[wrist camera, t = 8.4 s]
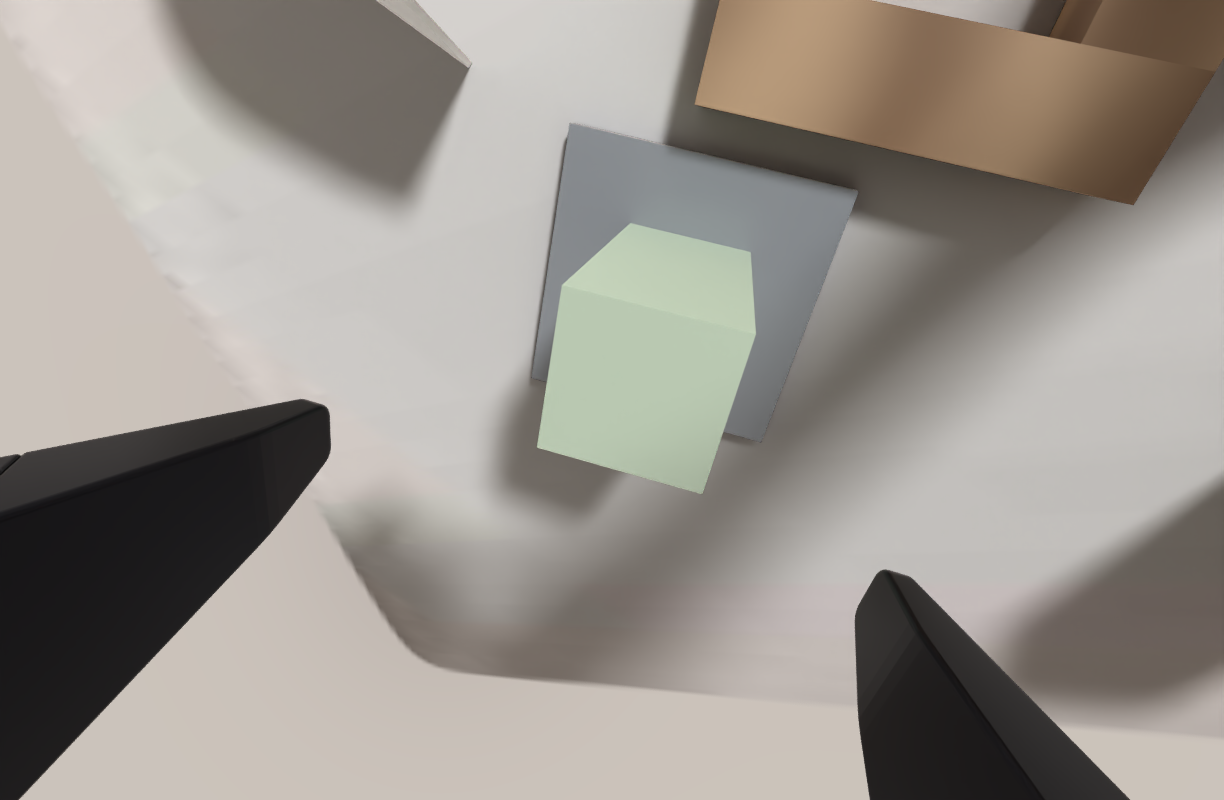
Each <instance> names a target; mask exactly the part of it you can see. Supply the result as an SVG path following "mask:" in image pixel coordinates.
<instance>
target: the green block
mask: <svg viewBox="0 0 1224 800" xmlns="http://www.w3.org/2000/svg"><path fill="white" fill-rule="evenodd" d="M755 336H756V327H755V311H754V296H753V280H752V265H751V252H748V251H744V250H740V249H736V248H732V247H728V246H723V245H719V244H715V243H711V242H707V241H703V240H699V239H694V238H690V237H686V236H682V235H678V234H674V233H669V232H665V231H661V230H657V229H653V228H649V227H644V226H640V225H636V224H632V223H630V224H629V225H628V226H627V227H626V228H624V229H623V230H622V231H621V232H620V233H619V234H618V235H617V236H616V237H614V238H613V239H612V240H611V241H610V242H609V243H608V244H607V245H606V246H605V247H603V248H602V249H601V250H600V251H599V252H598V253H597V254H596V255H595V256H593V257H592V258H591V259H590V260H589V261H588V262H587V263H586V264H585V265H584V266H582V267H581V268H580V269H579V270H578V271H577V272H576V273H575V274H574V275H573V276H571V277H570V278H569V279H568V280H567V281H566V282H565V283H564V284H563V285H562V288H561V294H560V301H559V307H558V314H557V320H556V327H555V333H554V340H553V346H552V353H551V359H550V366H549V372H548V379H547V385H546V392H545V398H544V405H543V411H542V417H541V424H540V430H539V437H538V443H537V448H540V449H544V450H547V451H551V452H554V453H558V454H561V455H565V456H568V457H572V458H576V459H579V460H583V461H586V462H590V463H593V464H597V465H600V466H604V467H607V468H611V469H614V470H618V471H621V472H625V473H628V474H632V475H636V476H639V477H643V478H646V479H650V480H653V481H657V482H660V483H664V484H667V485H671V486H674V487H678V488H681V489H685V490H689V491H692V492H696V493H699V494H703V491H704V488H705V485H706V482H707V479H708V476H709V473H710V470H711V467H712V464H713V461H714V458H715V455H716V452H717V449H718V446H719V443H720V440H721V437H722V434H723V431H724V428H725V425H726V422H727V419H728V416H729V413H730V410H731V407H732V404H733V401H734V398H735V395H736V392H737V389H738V386H739V383H740V380H741V377H742V375H743V372H744V369H745V366H746V363H747V360H748V357H749V354H750V351H751V348H752V345H753V342H754V339H755Z"/></svg>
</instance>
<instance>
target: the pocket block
mask: <svg viewBox="0 0 1224 800" xmlns="http://www.w3.org/2000/svg"><path fill="white" fill-rule="evenodd" d="M1223 59H1224V0H1067V1H1066V3H1065V5H1064V7H1063V9H1062V11H1061V13H1060V15H1059V17H1058V19H1057V21H1056V23H1055V25H1054V28H1053V30H1052V32H1051V34H1050V36H1049V37H1046V36H1041V35H1036V34H1031V33H1026V32H1021V31H1017V30H1012V29H1007V28H1002V27H997V26H992V25H988V24H983V23H978V22H973V21H968V20H964V19H959V18H954V17H949V16H944V15H939V14H935V13H930V12H925V11H920V10H915V9H910V8H906V7H901V6H896V5H891V4H886V3H881V2H877V1H872V0H720V1H719V5H718V9H717V13H716V17H715V21H714V25H713V30H712V34H711V38H710V42H709V46H708V50H707V54H706V59H705V63H704V67H703V71H702V75H701V79H700V84H699V88H698V92H697V96H696V100H695V105H698V106H701V107H706V108H710V109H714V110H719V111H723V112H727V113H732V114H736V115H740V116H745V117H749V118H754V119H758V120H762V121H767V122H771V123H775V124H780V125H784V126H788V127H793V128H797V129H801V130H806V131H810V132H814V133H819V134H823V135H828V136H832V137H836V138H841V139H845V140H849V141H854V142H858V143H862V144H867V145H871V146H875V147H880V148H884V149H888V150H893V151H897V152H902V153H906V154H910V155H915V156H919V157H923V158H928V159H932V160H936V161H941V162H945V163H949V164H954V165H958V166H962V167H967V168H971V169H976V170H980V171H984V172H989V173H993V174H997V175H1002V176H1006V177H1010V178H1015V179H1019V180H1023V181H1028V182H1032V183H1036V184H1041V185H1045V186H1050V187H1054V188H1058V189H1063V190H1067V191H1071V192H1076V193H1080V194H1084V195H1089V196H1093V197H1098V198H1103V199H1107V200H1112V201H1117V202H1121V203H1126V204H1131V205H1134V203H1135V202H1136V200H1137V198H1138V197H1139V195H1140V194H1141V192H1142V190H1143V189H1144V187H1145V185H1146V184H1147V182H1148V181H1149V179H1150V177H1151V176H1152V174H1153V172H1154V171H1155V169H1156V168H1157V166H1158V164H1159V163H1160V161H1161V159H1162V158H1163V156H1164V155H1165V153H1166V151H1167V150H1168V148H1169V146H1170V145H1171V143H1172V142H1173V140H1174V138H1175V137H1176V135H1177V133H1178V132H1179V130H1180V129H1181V127H1182V125H1183V124H1184V122H1185V120H1186V119H1187V117H1188V116H1189V114H1190V112H1191V111H1192V109H1193V107H1194V106H1195V104H1196V103H1197V101H1198V99H1199V98H1200V96H1201V94H1202V93H1203V91H1204V90H1205V88H1206V86H1207V85H1208V83H1209V81H1210V80H1211V78H1212V77H1213V75H1214V73H1215V72H1216V70H1217V68H1218V67H1219V65H1220V64H1221V62H1222V60H1223Z"/></svg>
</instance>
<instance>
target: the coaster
mask: <svg viewBox="0 0 1224 800" xmlns="http://www.w3.org/2000/svg"><path fill="white" fill-rule="evenodd" d="M858 193H859V191H857V190H855V189H851V188H847V187H842V186H838V185H834V184H830V183H826V182H821V181H817V180H813V179H809V178H804V177H800V176H796V175H792V174H788V173H783V172H779V171H775V170H771V169H767V168H762V167H758V166H754V165H750V164H745V163H741V162H737V161H733V160H729V159H724V158H720V157H716V156H712V155H708V154H703V153H699V152H695V151H691V150H686V149H682V148H678V147H674V146H670V145H665V144H661V143H657V142H653V141H648V140H644V139H640V138H636V137H632V136H627V135H623V134H619V133H615V132H611V131H606V130H602V129H598V128H594V127H589V126H585V125H581V124H577V123H570V124H569V131H568V138H567V144H566V151H565V158H564V164H563V171H562V177H561V184H560V191H559V197H558V204H557V211H556V217H555V224H554V231H553V237H552V244H551V251H550V257H549V264H548V271H547V277H546V284H545V291H544V297H543V304H542V311H541V317H540V324H539V331H538V337H537V344H536V351H535V357H534V364H533V371H532V377H531V378H533V379H537V380H540V381H544V382H547V379H548V372H549V366H550V359H551V353H552V346H553V340H554V333H555V327H556V320H557V314H558V307H559V301H560V294H561V288H562V285H563V284H564V283H565V282H566V281H567V280H568V279H569V278H570V277H571V276H573V275H574V274H575V273H576V272H577V271H578V270H579V269H580V268H581V267H582V266H584V265H585V264H586V263H587V262H588V261H589V260H590V259H591V258H592V257H593V256H595V255H596V254H597V253H598V252H599V251H600V250H601V249H602V248H603V247H605V246H606V245H607V244H608V243H609V242H610V241H611V240H612V239H613V238H614V237H616V236H617V235H618V234H619V233H620V232H621V231H622V230H623V229H624V228H626V227H627V226H628V225H629V224H630V223H632V224H636V225H640V226H644V227H649V228H653V229H657V230H661V231H665V232H669V233H674V234H678V235H682V236H686V237H690V238H694V239H699V240H703V241H707V242H711V243H715V244H719V245H723V246H728V247H732V248H736V249H740V250H744V251H748V252H751V265H752V280H753V296H754V311H755V327H756V336H755V339H754V342H753V345H752V348H751V351H750V354H749V357H748V360H747V363H746V366H745V369H744V372H743V375H742V377H741V380H740V383H739V386H738V389H737V392H736V395H735V398H734V401H733V404H732V407H731V410H730V413H729V416H728V419H727V422H726V425H725V428H724V431H723V432H726V433H729V434H733V435H736V436H740V437H743V438H747V439H751V440H754V441H758V442H762V439H763V437H764V434H765V431H766V429H767V426H768V424H769V421H770V419H771V416H772V413H773V411H774V408H775V406H776V403H777V401H778V398H779V395H780V393H781V390H782V388H783V385H784V383H785V380H786V378H787V375H788V372H789V370H790V367H791V365H792V362H793V360H794V357H795V354H796V352H797V349H798V347H799V344H800V342H801V339H802V336H803V334H804V331H805V329H806V326H807V324H808V321H809V318H810V316H811V313H812V311H813V308H814V306H815V303H816V301H817V298H818V295H819V293H820V290H821V288H822V285H823V283H824V280H825V277H826V275H827V272H828V270H829V267H830V265H831V262H832V259H833V257H834V254H835V252H836V249H837V247H838V244H839V241H840V239H841V236H842V234H843V231H844V229H845V226H846V223H847V221H848V218H849V216H850V213H851V211H852V208H853V206H854V203H855V200H856V198H857V195H858Z"/></svg>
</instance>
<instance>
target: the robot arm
mask: <svg viewBox="0 0 1224 800" xmlns="http://www.w3.org/2000/svg"><path fill="white" fill-rule="evenodd" d="M330 450H331V437H330V414H329V411H328V408H327V407H326V406H324V405H322V404H319V403H316V402H312V401H309V400H305V399H298V400H293V401H288V402H283V403H277V404H272V405H267V406H262V407H257V408H252V409H247V410H242V411H237V412H232V413H226V414H222V415H216V416H211V417H206V418H201V419H195V420H190V421H185V422H180V423H175V424H170V425H165V426H159V427H154V428H150V429H144V430H139V431H134V432H129V433H124V434H118V435H114V436H109V437H103V438H98V439H93V440H88V441H83V442H78V443H73V444H67V445H62V446H57V447H52V448H47V449H41V450H37V451H31V452H26V453H24V454H23V455H22V456H20V455H18V454H15V455H10V456H5V457H0V800H19V799H20V798H21V797H22V796H23V795H24V794H25V793H26V792H27V791H28V789H29V788H30V787H31V786H32V785H33V784H34V783H35V782H36V781H37V780H38V779H39V778H40V777H41V776H42V775H43V774H44V773H45V772H46V770H47V769H48V768H49V767H50V766H51V765H52V764H53V763H54V762H55V761H56V760H57V759H58V758H59V757H60V756H61V755H62V754H63V753H64V752H65V750H66V749H67V748H68V747H69V746H70V745H71V744H72V743H73V742H74V741H75V739H77V738H78V737H79V736H80V735H81V733H82V732H83V731H84V730H85V729H86V728H87V727H88V726H89V725H90V724H91V723H92V722H93V721H94V720H95V719H96V718H97V717H98V715H100V713H101V712H102V711H103V710H104V709H105V708H106V707H107V706H108V705H109V704H110V703H111V702H112V701H113V700H114V699H115V698H116V697H117V695H118V694H119V693H120V692H121V691H122V690H123V689H124V688H125V687H126V686H127V685H128V684H129V683H130V682H131V681H132V680H133V679H134V677H135V676H136V675H137V674H138V673H139V672H140V671H141V670H142V669H143V668H144V667H145V666H146V665H147V664H148V662H150V661H151V659H152V658H153V657H154V656H155V655H156V654H157V653H158V652H159V651H160V650H161V649H162V648H163V647H164V646H165V645H166V644H167V642H169V641H170V639H171V638H172V637H173V636H174V635H175V634H176V633H177V632H178V631H179V630H180V629H181V628H182V627H183V626H184V625H185V624H186V623H187V622H188V620H189V619H190V618H191V617H192V616H193V615H194V614H195V613H196V612H197V611H198V610H199V609H200V608H201V607H202V606H203V605H204V603H205V602H206V601H207V600H208V599H209V598H210V597H211V596H212V595H213V594H214V593H215V592H216V591H217V590H218V589H219V588H220V586H222V585H223V583H224V582H225V581H226V580H227V579H228V578H229V577H230V576H231V575H232V574H233V573H234V572H235V571H236V570H237V569H238V568H239V567H240V565H241V564H242V563H243V562H244V561H245V560H246V559H247V558H248V557H249V556H250V555H251V554H252V553H253V552H254V551H255V550H256V549H257V548H258V546H259V545H260V544H261V543H262V542H263V541H264V540H265V539H266V538H267V537H268V535H269V534H270V533H271V532H272V531H273V529H274V528H275V527H276V526H277V525H278V523H279V522H280V521H281V520H282V518H283V517H284V516H285V515H286V513H287V512H288V510H289V509H290V508H291V507H292V505H293V504H294V503H295V501H296V500H297V499H298V498H299V496H300V495H301V494H302V492H303V491H304V490H305V489H306V487H307V486H308V485H309V483H310V482H311V481H312V479H313V478H314V477H315V476H316V474H317V473H318V472H319V470H320V469H321V468H322V466H323V465H324V464H325V462H326V461H327V459H328V457H329V454H330ZM855 646H856V675H857V704H858V719H859V727H860V735H861V743H862V749H863V756H864V763H865V769H866V777H867V783H868V790H869V796H870V800H1130V799H1129V798H1128V797H1127V796H1126V795H1125V794H1124V793H1123V792H1122V791H1121V790H1120V789H1119V788H1118V787H1117V786H1116V785H1115V784H1114V783H1113V782H1112V781H1111V780H1110V779H1109V778H1108V777H1107V776H1106V775H1105V774H1104V773H1103V772H1102V771H1101V770H1100V769H1099V768H1098V767H1097V766H1096V765H1095V764H1094V763H1093V762H1092V761H1091V759H1090V758H1089V757H1087V755H1086V754H1085V753H1084V752H1083V751H1082V750H1081V749H1080V748H1079V747H1078V746H1077V745H1076V744H1075V743H1074V742H1073V741H1072V740H1071V739H1070V738H1069V737H1068V736H1067V735H1066V734H1065V733H1064V732H1063V731H1062V730H1061V729H1060V728H1059V727H1058V726H1057V725H1056V724H1055V723H1054V722H1053V721H1052V720H1051V719H1050V718H1049V717H1048V716H1047V715H1046V714H1045V713H1044V712H1043V711H1042V710H1041V709H1040V708H1039V707H1038V706H1037V705H1036V704H1035V703H1034V702H1033V701H1032V699H1031V698H1030V697H1029V696H1028V695H1027V694H1026V693H1025V692H1024V691H1023V690H1022V689H1021V688H1020V687H1019V686H1018V685H1017V684H1016V683H1015V682H1014V681H1013V680H1012V679H1011V678H1010V677H1009V676H1008V675H1007V674H1006V673H1005V672H1004V671H1003V670H1002V669H1001V668H1000V667H999V666H998V665H997V664H996V663H995V662H994V661H993V660H992V659H991V658H990V657H989V656H988V655H987V654H986V653H985V652H984V651H983V650H982V649H981V648H980V647H979V646H978V645H977V644H976V643H975V642H974V641H973V640H972V638H971V637H970V636H969V635H968V634H967V633H966V632H965V631H964V630H963V629H962V628H961V627H960V626H959V625H958V624H957V623H956V622H955V621H954V620H953V619H952V618H951V617H950V616H949V615H948V614H947V613H946V612H945V611H944V610H943V609H942V608H941V607H940V606H939V605H938V604H937V603H936V602H935V601H934V600H933V599H932V598H931V597H930V596H929V595H928V594H927V593H926V592H925V591H924V590H923V589H922V588H921V587H920V586H919V585H918V584H917V583H916V582H915V581H914V580H913V579H912V578H911V577H909V576H907V575H903V574H900V573H896V572H893V571H890V570H881V571H880V572H878V573H877V575H876V576H875V577H874V579H873V581H872V583H871V584H870V586H869V588H868V590H867V591H866V593H865V595H864V597H863V598H862V600H861V602H860V603H859V605H858V608H857V610H856V615H855Z"/></svg>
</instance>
